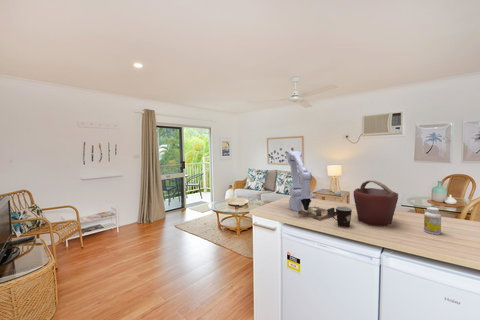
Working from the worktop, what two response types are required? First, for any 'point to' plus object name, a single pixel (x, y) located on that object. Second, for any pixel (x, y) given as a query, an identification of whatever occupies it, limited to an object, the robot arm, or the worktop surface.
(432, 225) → the supplement bottle
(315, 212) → the folding leg
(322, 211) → the stool seat
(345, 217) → the coffee mug
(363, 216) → the bucket
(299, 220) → the worktop surface
